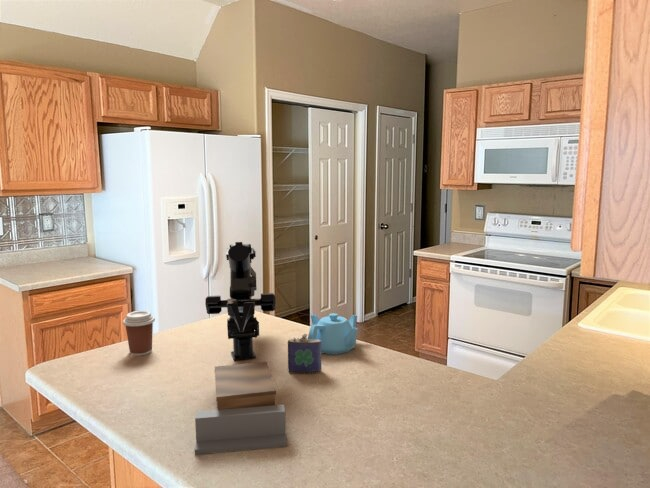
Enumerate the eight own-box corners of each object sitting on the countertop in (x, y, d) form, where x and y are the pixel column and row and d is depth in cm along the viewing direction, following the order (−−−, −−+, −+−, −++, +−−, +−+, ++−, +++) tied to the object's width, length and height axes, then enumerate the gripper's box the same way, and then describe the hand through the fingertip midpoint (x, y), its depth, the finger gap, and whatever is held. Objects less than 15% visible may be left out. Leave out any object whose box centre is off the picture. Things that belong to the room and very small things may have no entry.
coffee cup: (120, 351, 154) (117, 313, 152) (149, 344, 160) (147, 307, 158) (132, 359, 147) (129, 320, 145) (161, 352, 153) (159, 314, 151)
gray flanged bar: (197, 438, 104) (196, 411, 103) (284, 431, 107) (284, 404, 106) (194, 454, 99) (193, 426, 98) (286, 446, 101) (286, 418, 100)
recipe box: (216, 402, 121) (214, 366, 119) (267, 396, 123) (266, 361, 122) (217, 438, 105) (216, 397, 103) (276, 430, 108) (276, 390, 106)
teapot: (311, 338, 164) (310, 306, 163) (357, 339, 164) (357, 307, 162) (307, 356, 149) (306, 321, 148) (357, 356, 149) (358, 321, 147)
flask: (321, 369, 139) (321, 332, 137) (321, 374, 136) (320, 336, 135) (288, 369, 140) (287, 332, 138) (287, 373, 137) (286, 336, 135)
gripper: (204, 267, 135) (202, 318, 125) (274, 264, 137) (277, 315, 128) (207, 288, 143) (206, 338, 134) (273, 286, 146) (276, 334, 137)
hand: (241, 331), depth 133 cm, fingers closed
